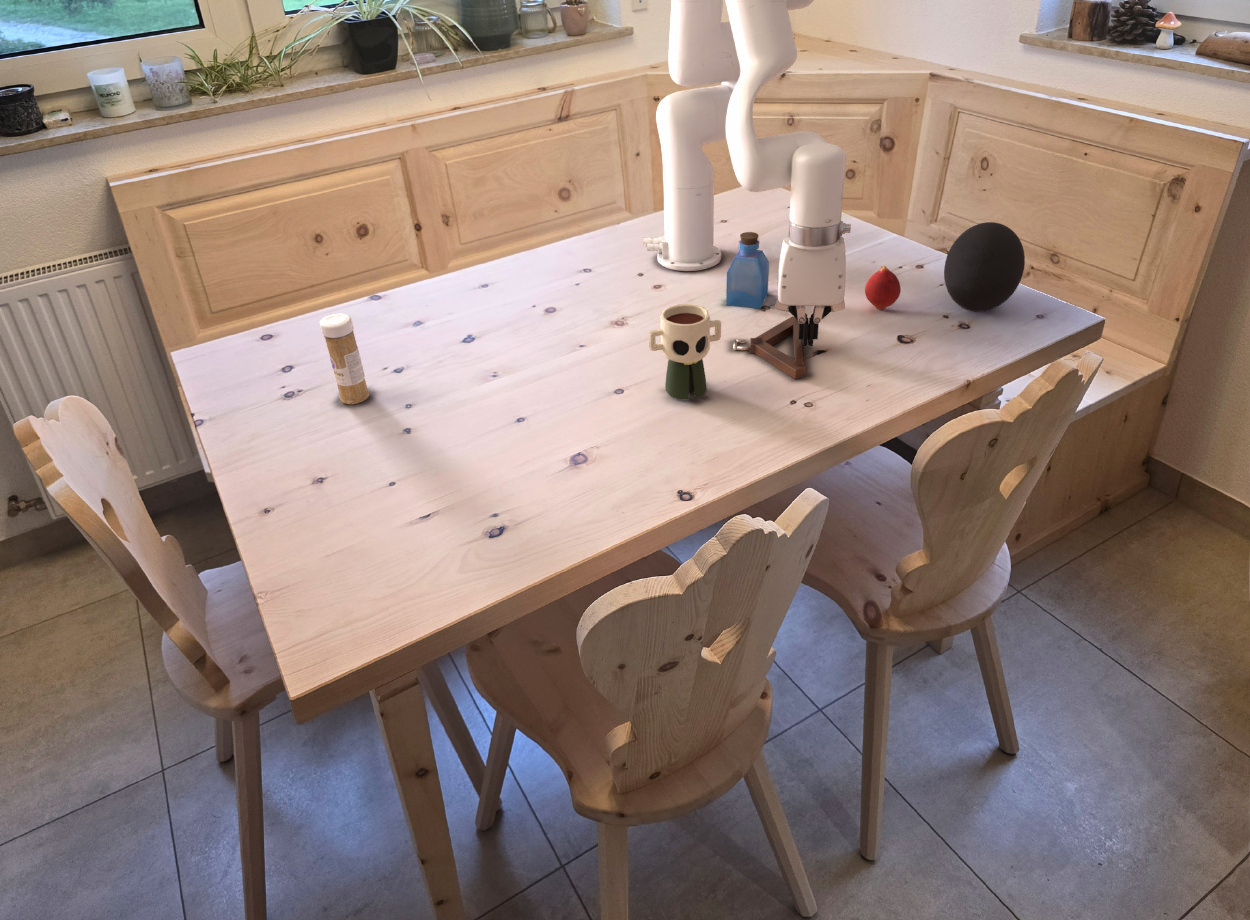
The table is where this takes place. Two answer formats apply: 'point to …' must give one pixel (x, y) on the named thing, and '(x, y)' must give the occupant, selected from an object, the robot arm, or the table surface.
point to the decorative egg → (984, 266)
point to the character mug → (685, 347)
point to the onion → (882, 288)
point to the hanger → (773, 355)
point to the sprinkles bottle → (345, 358)
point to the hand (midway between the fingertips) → (807, 342)
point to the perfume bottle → (748, 274)
